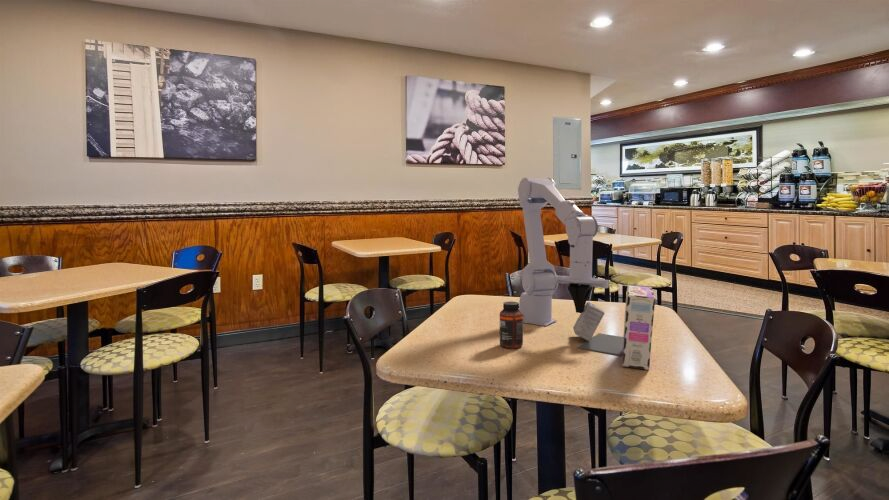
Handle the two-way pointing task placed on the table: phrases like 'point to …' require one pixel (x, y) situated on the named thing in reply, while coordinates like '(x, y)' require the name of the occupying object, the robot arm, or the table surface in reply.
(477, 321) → the table surface
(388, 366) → the table surface
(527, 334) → the table surface
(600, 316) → the medicine box
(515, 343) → the supplement bottle
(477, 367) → the table surface
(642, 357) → the candy box
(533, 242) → the robot arm
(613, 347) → the mat
